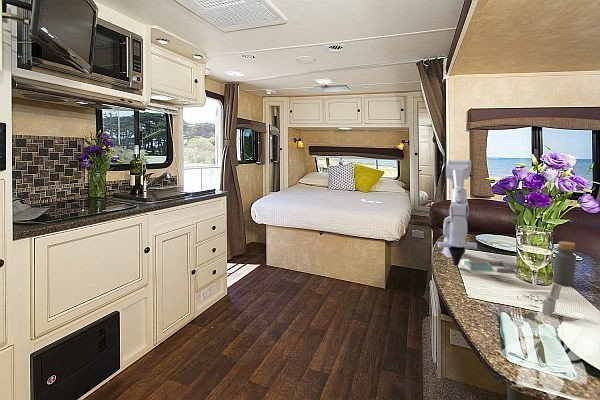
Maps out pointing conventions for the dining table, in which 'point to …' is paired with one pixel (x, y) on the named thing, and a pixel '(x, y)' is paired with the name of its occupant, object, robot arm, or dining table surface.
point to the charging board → (497, 268)
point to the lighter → (551, 300)
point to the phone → (479, 266)
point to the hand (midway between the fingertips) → (455, 264)
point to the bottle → (564, 264)
